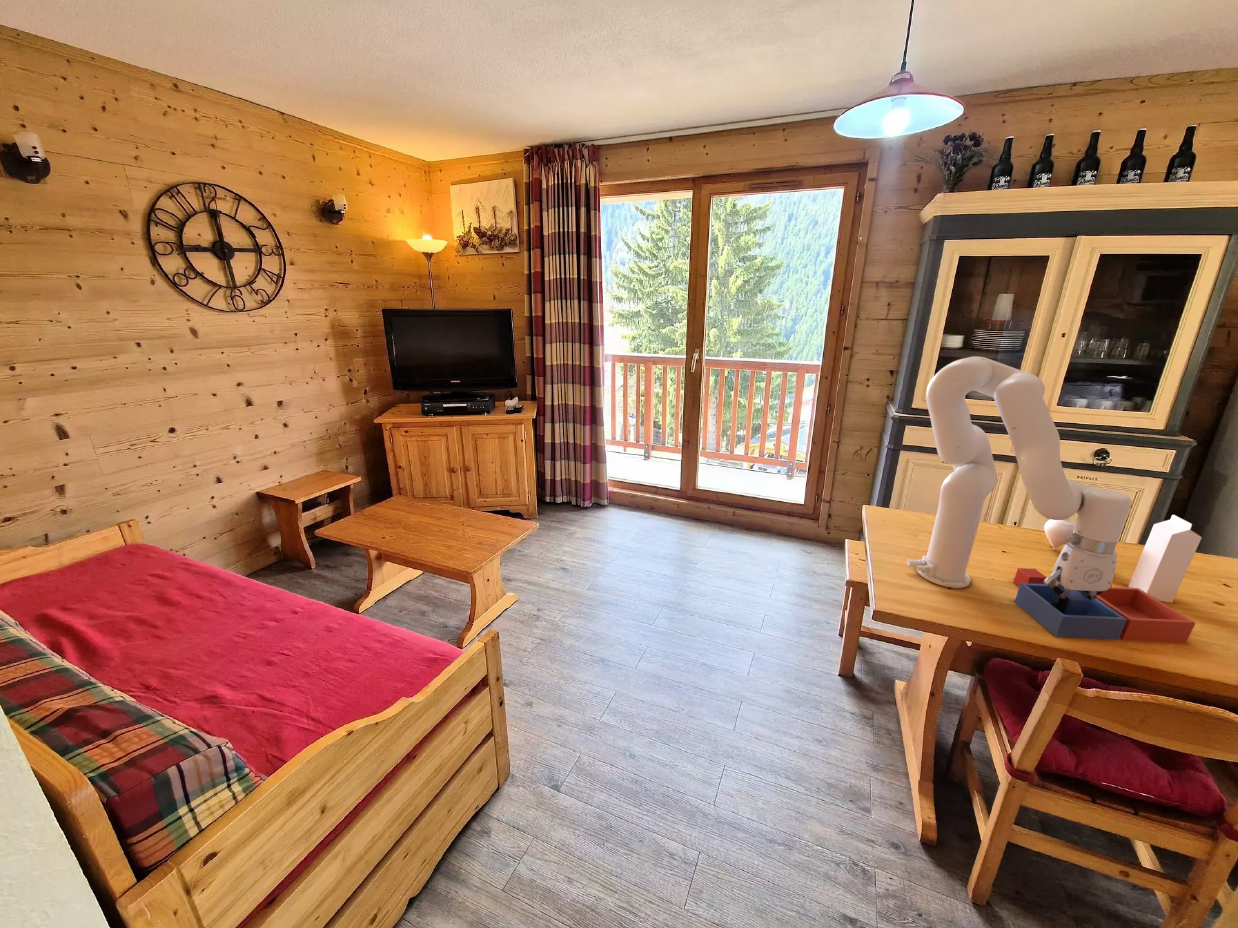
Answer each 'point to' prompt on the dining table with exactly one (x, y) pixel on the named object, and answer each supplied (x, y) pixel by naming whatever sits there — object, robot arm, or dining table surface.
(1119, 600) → the red bin
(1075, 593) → the blue block
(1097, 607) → the blue bin
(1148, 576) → the milk
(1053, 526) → the spinning top
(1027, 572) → the red block
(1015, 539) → the dining table surface
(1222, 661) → the dining table surface
